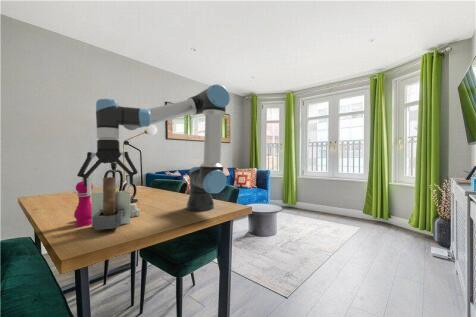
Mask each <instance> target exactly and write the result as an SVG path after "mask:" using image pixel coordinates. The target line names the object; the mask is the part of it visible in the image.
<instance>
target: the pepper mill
mask: <svg viewBox="0 0 476 317" xmlns="http://www.w3.org/2000/svg"><path fill="white" fill-rule="evenodd" d="M81 178H82V179H81V181H79V182H78V183H76V185H75V191H76V192H77V193H76V194H77V195H76V196H77V197H78V204H77V206H76V208H75V210H74V213H73V217H74V219H75V226H76V227H86V226H90V225H91V226H92V201H91V195H87V186H85V187H84V179H83V177H81ZM93 189H94V186H93V183H92V182H91V191H93ZM76 219H77V220H76Z"/></svg>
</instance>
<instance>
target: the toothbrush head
mask: <svg viewBox="0 0 476 317" xmlns="http://www.w3.org/2000/svg"><path fill="white" fill-rule="evenodd" d="M140 210H141V209H140V208H138V206H137V204H136V203H130V218H134V217H137V216H140ZM75 221H77V219H76V218H75Z"/></svg>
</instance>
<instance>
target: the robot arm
mask: <svg viewBox="0 0 476 317" xmlns="http://www.w3.org/2000/svg"><path fill="white" fill-rule="evenodd" d="M230 101H231V97H230V92H229V91H228V90H227V88H226V87H225V86H223V85H222V84H217V83H216V84H212V85H210V86H208V87H207V88H206V89H204V90H203V91H201V92H199V93H198V94H196V95H193V96H190V97H187V100H181V101H177V102H176V101H175V102H172V103H168V104H164V105H160V106H154V107H150V108H148V109H147V108H142V107H141V108H140V107H129V106H120V105H119V102H118V101H117V100H115V99H111V98H100V99H97V100H96V102H95V103H96V105H95V117H96V139H97V141H96V152H92V151H88V152H87V154H86V158H85V161H84V162H83V164H82V166H81V167H80V169H79V171H78V173H77V177H78V178H79V177H80V178H83V179H84V187H85V186H87V195H91V194H92V193H93V192H92V190H91V183H92V177H90V176H91V175H92V174H93V172H94V171H95V170H96V169H97V168H98V167H99V166H100V165H101V164H114V163H115V164H117V165H118V166H119V167H120V168H121V169H122V170H124V172H125V173H126V174H128V175H127V177H126V179H127V191H128V192H130V193H131V185H132V184H134V175H137V174H138V173H139V172H138V170H137V168H136V167H135V165H134V163H133V161H132V160H131V158H130V154H129V152H128V151H123V152H121V151H120V141H119V139H120V126H122V127H123V128H124V129H126V130H129V131H135V130H137V129H139V128H144V127H147V128H149V127H150V126H151V125H154V124H158V123H162V122H166V121H170V120H173V119H177V118H178V119H179V118H181V117H185V116H189V115H192V116H196V115H201V114H204V116H205V118H204V119H205V120H204V142H203V143H204V144H203V145H204V146H203V162H202V163H201V164H200V166H194V167H191V168H190V169H189V174H188V175H189V196H188V198H187V199H188V200H187V202H186V209H187V210H188V211H194V212H203V211H204V212H205V211H209V210H212V209H214V208H215V202H214V200H213V196H212V194H219V193H221V191H223V190H224V189H225V188H226V185H227V182H228V181H227V180H228V179H227V175H226V174H225V173H224V166H223V165H222V163H221V161H222V159H221V158H222V157H221V156H222V132H223V117H224V116H225V115H226V110H227V109H226V107H227V106H228V105H229V103H230ZM121 156H122V157H123V158H125V161H126V162H127V164H128V165H129V167H130V168H128V167H127V166H126V164H124V163H123V162H122V161H121V160H120V157H121ZM95 157H97V159H98V160H96V161H95V163H94V164H93V165H91V167H90V168H89V169H88V167H89V165H90V163H91V162H92V160H93V159H94V158H95ZM87 169H88V170H87Z"/></svg>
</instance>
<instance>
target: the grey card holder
mask: <svg viewBox="0 0 476 317" xmlns="http://www.w3.org/2000/svg"><path fill="white" fill-rule="evenodd" d="M90 199H91V204H92V224H91V228H93V229H94V230H95V231H100V230H101V231H102V230H109V229H119V227H120V225H129V224H131V217H130V204H131V191H130V192H128V190H119V191H118V190H117V191H116V190H115V215H104V216H103V191H98V192H97V191H95V192H92V194H91V196H90Z"/></svg>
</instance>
